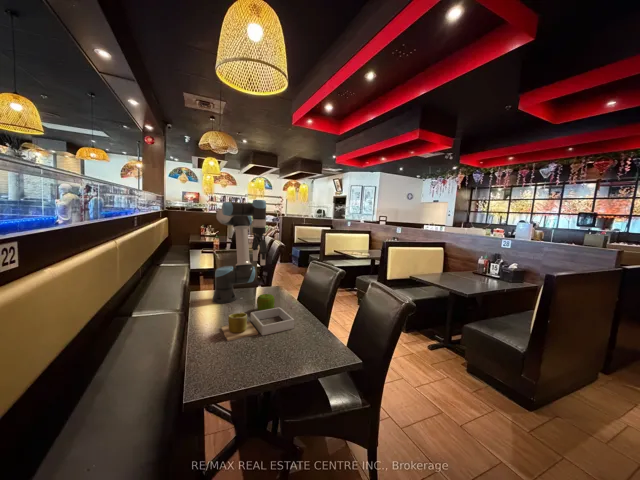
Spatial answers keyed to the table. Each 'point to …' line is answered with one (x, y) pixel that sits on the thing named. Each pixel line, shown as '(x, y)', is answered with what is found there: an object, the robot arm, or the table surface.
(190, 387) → the table surface
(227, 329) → the board
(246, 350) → the table surface
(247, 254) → the robot arm
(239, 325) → the mug
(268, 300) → the apple
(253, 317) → the tub
